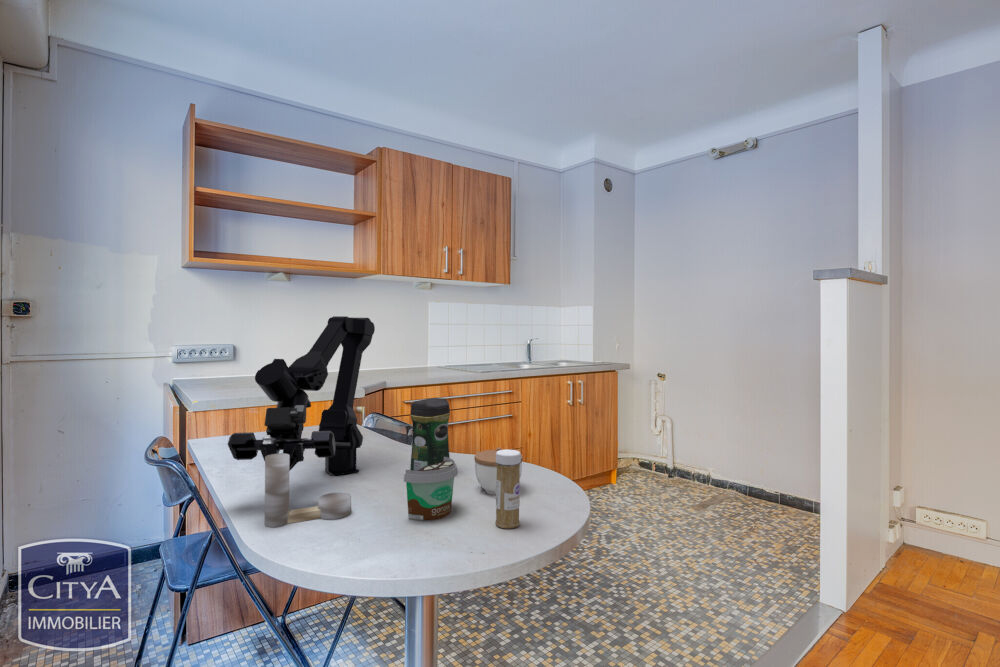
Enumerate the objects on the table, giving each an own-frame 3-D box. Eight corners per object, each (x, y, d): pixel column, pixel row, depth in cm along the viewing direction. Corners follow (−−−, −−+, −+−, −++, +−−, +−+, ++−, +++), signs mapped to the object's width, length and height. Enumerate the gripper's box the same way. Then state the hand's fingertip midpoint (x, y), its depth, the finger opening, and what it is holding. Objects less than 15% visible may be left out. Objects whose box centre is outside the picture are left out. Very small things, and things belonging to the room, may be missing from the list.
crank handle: (347, 505, 100) (347, 445, 100) (354, 516, 95) (355, 451, 95) (263, 519, 93) (263, 453, 93) (266, 530, 88) (266, 461, 87)
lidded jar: (530, 494, 110) (531, 451, 110) (484, 500, 106) (484, 455, 106) (510, 480, 120) (511, 441, 120) (467, 485, 116) (468, 444, 116)
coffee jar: (431, 467, 131) (431, 394, 131) (455, 472, 126) (455, 397, 126) (403, 476, 123) (404, 399, 123) (428, 482, 118) (429, 402, 118)
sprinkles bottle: (516, 530, 91) (516, 455, 91) (491, 527, 92) (492, 453, 92) (522, 521, 95) (523, 449, 95) (499, 518, 96) (500, 447, 96)
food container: (429, 532, 90) (429, 475, 89) (403, 524, 93) (403, 470, 93) (470, 511, 100) (470, 460, 100) (445, 505, 103) (445, 456, 103)
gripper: (231, 390, 97) (208, 464, 86) (334, 390, 100) (324, 460, 89) (244, 424, 104) (224, 495, 94) (339, 422, 108) (330, 491, 97)
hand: (275, 485), depth 93 cm, fingers closed
